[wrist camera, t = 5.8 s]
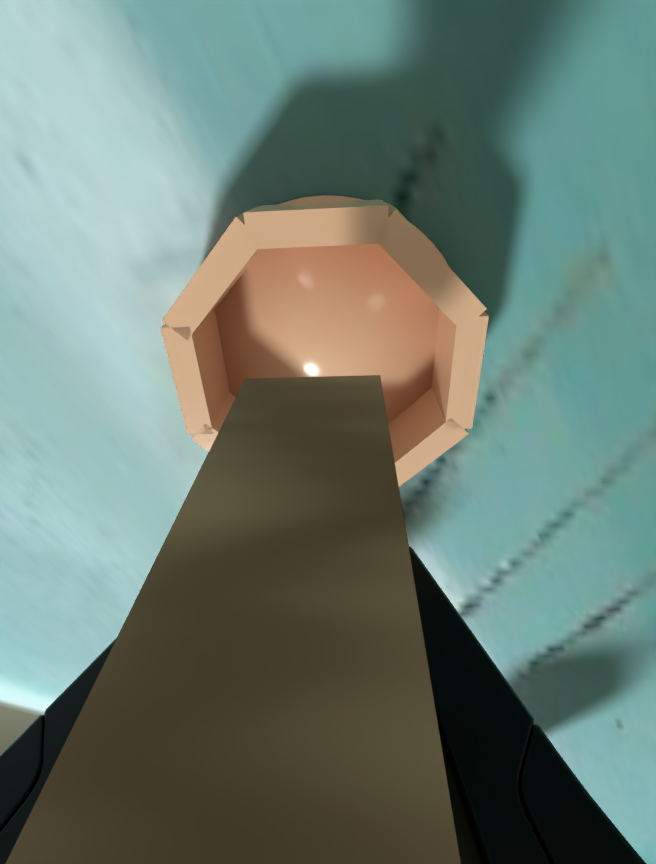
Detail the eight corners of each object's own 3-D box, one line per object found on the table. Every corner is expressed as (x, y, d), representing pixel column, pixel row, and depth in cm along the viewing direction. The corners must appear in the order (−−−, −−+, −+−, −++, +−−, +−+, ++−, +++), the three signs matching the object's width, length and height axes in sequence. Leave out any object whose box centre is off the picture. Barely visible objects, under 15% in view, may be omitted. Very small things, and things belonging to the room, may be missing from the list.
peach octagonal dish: (480, 186, 15) (515, 191, 12) (448, 451, 21) (466, 500, 18) (167, 202, 16) (123, 210, 12) (221, 456, 21) (200, 503, 18)
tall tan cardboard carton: (380, 374, 9) (534, 1302, 2) (376, 540, 12) (431, 1203, 4) (245, 378, 10) (-178, 1235, 2) (270, 540, 12) (138, 1178, 4)
